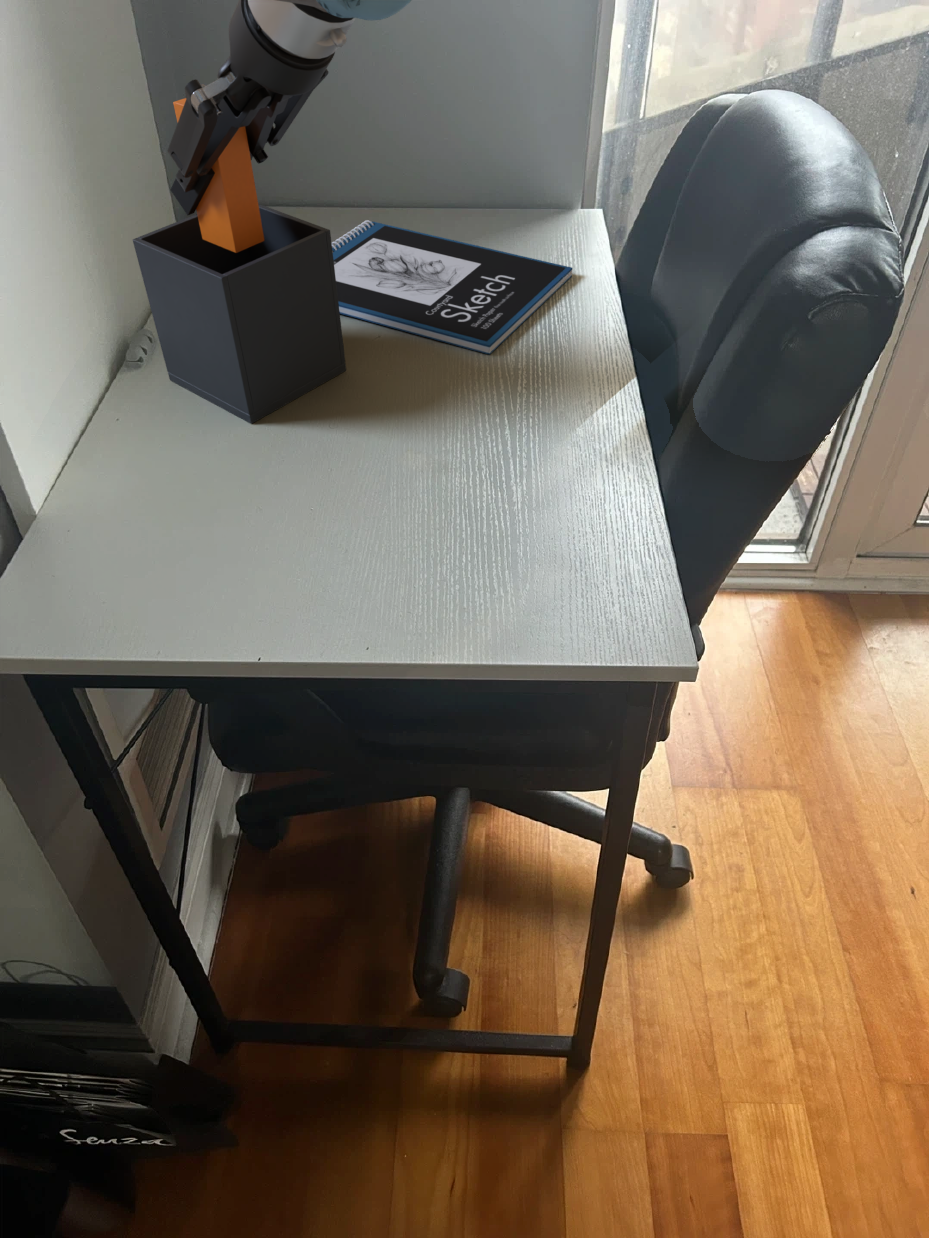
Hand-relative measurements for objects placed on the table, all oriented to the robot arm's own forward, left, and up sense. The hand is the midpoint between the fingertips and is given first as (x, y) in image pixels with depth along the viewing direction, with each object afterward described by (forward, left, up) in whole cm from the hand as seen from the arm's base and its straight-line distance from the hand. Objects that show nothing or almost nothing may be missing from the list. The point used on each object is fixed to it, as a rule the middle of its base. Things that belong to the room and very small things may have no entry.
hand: (200, 194), depth 89 cm
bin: (+1, -4, -18) cm, 18 cm away
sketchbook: (+27, 0, -18) cm, 32 cm away
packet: (+1, -4, -3) cm, 5 cm away
